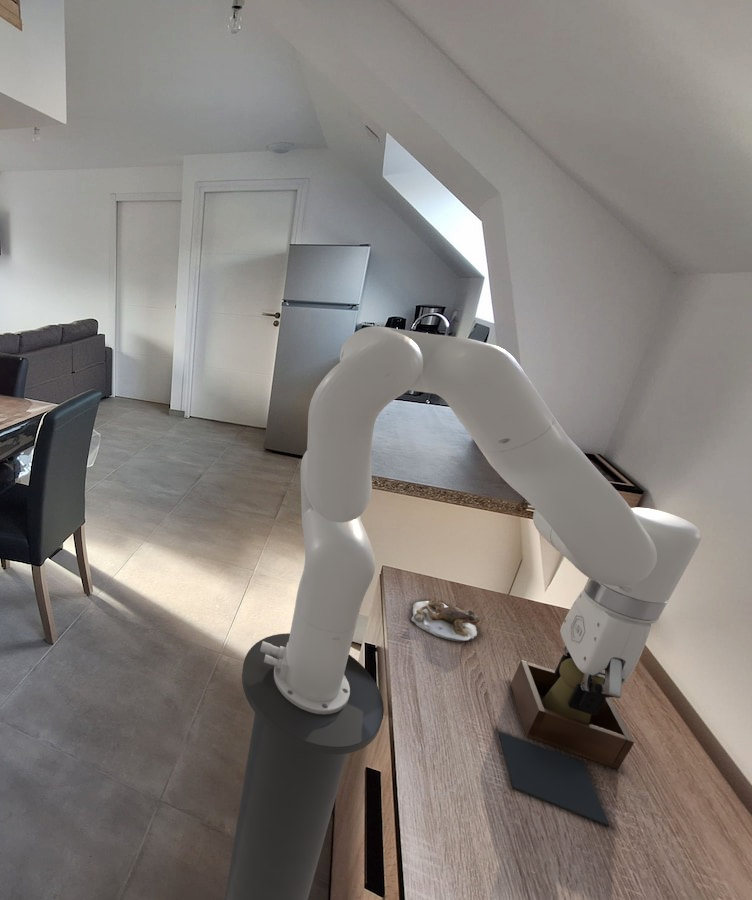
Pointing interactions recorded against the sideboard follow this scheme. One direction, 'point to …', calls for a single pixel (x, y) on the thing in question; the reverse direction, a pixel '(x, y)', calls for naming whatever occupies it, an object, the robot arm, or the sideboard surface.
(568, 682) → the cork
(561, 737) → the open wooden box
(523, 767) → the mat
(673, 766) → the sideboard surface
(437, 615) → the frog figurine
